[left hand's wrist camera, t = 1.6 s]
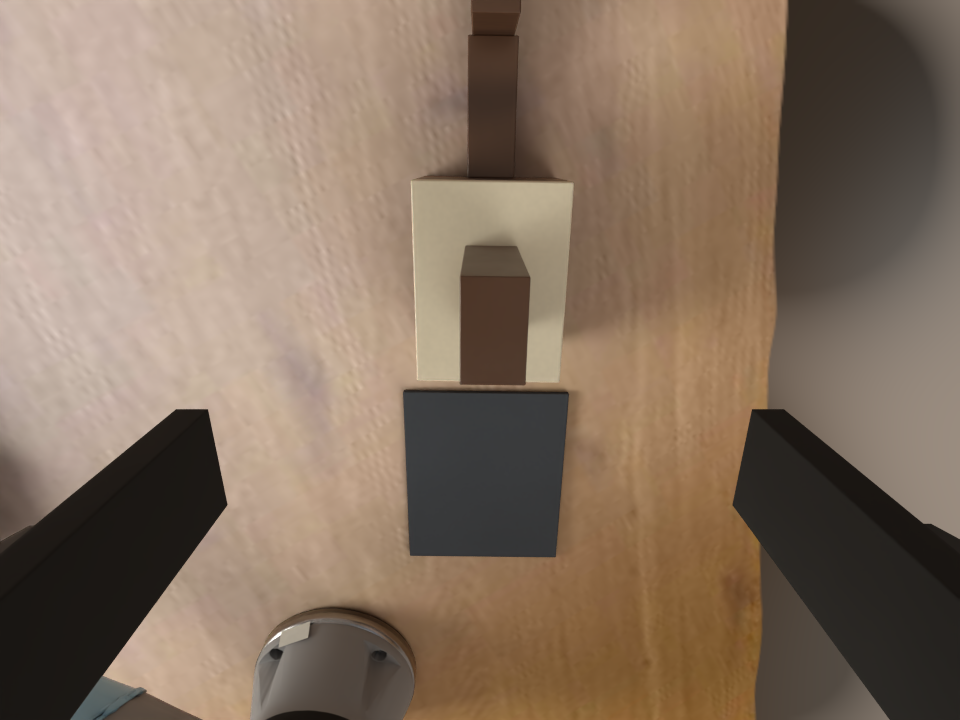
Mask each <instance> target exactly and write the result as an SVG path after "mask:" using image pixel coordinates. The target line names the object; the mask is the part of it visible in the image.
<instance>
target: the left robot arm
mask: <svg viewBox="0 0 960 720" xmlns="http://www.w3.org/2000/svg"><path fill="white" fill-rule="evenodd" d="M226 506H227V500H226V495H225V491H224V486H223V481H222V476H221V471H220V466H219V461H218V456H217V452H216V447H215V442H214V437H213V432H212V427H211V422H210V417H209V412H208V409H176V410H175V411H174V412H172V413H171V414H170V415H169V416H167V417H166V418H165V419H164V420H163V421H161V422H160V423H159V424H158V425H156V426H155V427H154V428H153V429H152V430H150V431H149V432H148V433H147V434H145V435H144V436H143V437H142V438H141V439H139V440H138V441H137V442H136V443H135V444H133V445H132V446H131V447H130V448H128V449H127V450H126V451H125V452H124V453H122V454H121V455H120V456H119V457H117V458H116V459H115V460H114V461H113V462H111V463H110V464H109V465H108V466H106V467H105V468H104V469H103V470H102V471H100V472H99V473H98V474H97V475H96V476H94V477H93V478H92V479H91V480H89V481H88V482H87V483H86V484H85V485H83V486H82V487H81V488H80V489H78V490H77V491H76V492H75V493H74V494H72V495H71V496H70V497H69V498H67V499H66V500H65V501H64V502H63V503H61V504H60V505H59V506H58V507H56V508H55V509H54V510H53V511H52V512H50V513H49V514H48V515H47V516H46V517H44V518H43V519H42V520H41V521H39V522H38V523H37V524H36V525H35V526H28V527H26V528H25V529H23V530H21V531H19V532H17V533H15V534H13V535H12V536H10V537H8V538H6V539H4V540H2V541H1V542H0V720H202V719H200V718H198V717H195V716H193V715H191V714H189V713H187V712H184V711H182V710H180V709H178V708H176V707H174V706H172V705H170V704H168V703H166V702H164V701H162V700H160V699H158V698H156V697H154V696H152V695H150V694H147V693H146V692H147V691H146V690H145V689H144V688H141V687H139V688H133V687H130V686H128V685H125V684H122V683H119V682H117V681H114V680H111V679H109V678H107V677H104V676H103V674H104V673H105V671H106V670H107V669H108V667H109V666H110V665H111V663H112V662H113V661H114V659H115V658H116V656H117V655H118V654H119V652H120V651H121V650H122V648H123V647H124V646H125V644H126V643H127V641H128V640H129V639H130V637H131V636H132V635H133V633H134V632H135V631H136V629H137V628H138V626H139V625H140V624H141V622H142V621H143V620H144V618H145V617H146V616H147V614H148V613H149V611H150V610H151V609H152V607H153V606H154V605H155V603H156V602H157V601H158V599H159V598H160V596H161V595H162V594H163V592H164V591H165V590H166V588H167V587H168V585H169V584H170V583H171V581H172V580H173V579H174V577H175V576H176V575H177V573H178V572H179V570H180V569H181V568H182V566H183V565H184V564H185V562H186V561H187V560H188V558H189V557H190V555H191V554H192V553H193V551H194V550H195V549H196V547H197V546H198V545H199V543H200V542H201V540H202V539H203V538H204V536H205V535H206V534H207V532H208V531H209V530H210V528H211V527H212V525H213V524H214V523H215V521H216V520H217V519H218V517H219V516H220V514H221V513H222V512H223V510H224V509H225V508H226ZM733 506H734V508H735V509H736V510H737V512H738V513H739V514H740V516H741V517H742V519H743V520H744V521H745V523H746V524H747V525H748V527H749V528H750V530H751V531H752V532H753V534H754V535H755V536H756V538H757V539H758V540H759V542H760V543H761V545H762V546H763V547H764V549H765V550H766V551H767V553H768V554H769V555H770V557H771V558H772V560H773V561H774V562H775V564H776V565H777V566H778V568H779V569H780V570H781V572H782V573H783V575H784V576H785V577H786V579H787V580H788V581H789V583H790V584H791V585H792V587H793V588H794V590H795V591H796V592H797V594H798V595H799V596H800V598H801V599H802V600H803V602H804V603H805V605H806V606H807V607H808V609H809V610H810V611H811V613H812V614H813V616H814V617H815V618H816V620H817V621H818V622H819V624H820V625H821V626H822V628H823V629H824V630H825V632H826V633H827V635H828V636H829V637H830V639H831V640H832V641H833V643H834V644H835V646H836V647H837V648H838V650H839V651H840V652H841V654H842V655H843V656H844V658H845V659H846V661H847V662H848V663H849V665H850V666H851V667H852V669H853V670H854V671H855V673H856V674H857V676H858V677H859V678H860V680H861V681H862V682H863V684H864V685H865V687H866V688H867V689H868V691H869V692H870V693H871V695H872V696H873V697H874V699H875V700H876V702H877V703H878V704H879V706H880V707H881V708H882V710H883V711H884V712H885V714H886V715H887V717H888V718H889V719H890V720H960V539H958V538H956V537H954V536H953V535H951V534H949V533H947V532H945V531H943V530H941V529H940V528H938V527H936V526H934V525H932V524H923V523H922V522H921V521H919V520H918V519H917V518H916V517H914V516H913V515H912V514H911V513H910V512H908V511H907V510H906V509H905V508H903V507H902V506H901V505H900V504H899V503H897V502H896V501H895V500H894V499H893V498H891V497H890V496H889V495H888V494H886V493H885V492H884V491H883V490H882V489H880V488H879V487H878V486H877V485H875V484H874V483H873V482H872V481H871V480H869V479H868V478H867V477H866V476H864V475H863V474H862V473H861V472H860V471H858V470H857V469H856V468H855V467H854V466H852V465H851V464H850V463H849V462H847V461H846V460H845V459H844V458H843V457H841V456H840V455H839V454H838V453H836V452H835V451H834V450H833V449H832V448H830V447H829V446H828V445H827V444H825V443H824V442H823V441H822V440H821V439H819V438H818V437H817V436H816V435H814V434H813V433H812V432H811V431H810V430H808V429H807V428H806V427H805V426H804V425H802V424H801V423H800V422H799V421H797V420H796V419H795V418H794V417H793V416H791V415H790V414H789V413H788V412H786V411H785V410H784V409H752V412H751V417H750V422H749V427H748V432H747V437H746V442H745V447H744V452H743V456H742V461H741V466H740V471H739V476H738V481H737V486H736V491H735V495H734V500H733ZM415 679H416V662H415V658H414V655H413V652H412V650H411V648H410V647H409V645H408V644H407V642H406V641H405V640H404V638H403V637H402V636H401V635H400V634H399V633H398V632H397V631H396V630H394V629H393V628H392V627H390V626H389V625H387V624H386V623H384V622H383V621H381V620H379V619H377V618H375V617H372V616H370V615H367V614H364V613H361V612H357V611H352V610H346V609H334V608H329V609H316V610H311V611H307V612H303V613H300V614H297V615H295V616H293V617H291V618H289V619H287V620H285V621H284V622H282V623H281V624H280V625H278V626H277V627H276V628H275V629H274V630H273V631H272V632H271V633H270V635H269V636H268V638H267V639H266V641H265V644H264V646H263V648H262V650H261V652H260V655H259V657H258V659H257V662H256V666H255V673H254V682H253V694H252V705H251V717H250V720H403V718H404V716H405V713H406V711H407V709H408V707H409V705H410V702H411V700H412V697H413V693H414V687H415Z"/></svg>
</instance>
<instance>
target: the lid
mask: <svg viewBox="0 0 960 720" xmlns="http://www.w3.org/2000/svg"><path fill="white" fill-rule="evenodd" d="M573 192H574V183H573V182H570V181H513V180H443V179H414V180H411V202H412V234H413V266H414V297H415V329H416V360H417V380H418V381H460V384H467V385H525V384H526V382H559V381H560V369H561V356H562V342H563V328H564V315H565V301H566V288H567V274H568V260H569V247H570V233H571V219H572V206H573Z"/></svg>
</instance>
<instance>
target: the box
mask: <svg viewBox="0 0 960 720" xmlns="http://www.w3.org/2000/svg"><path fill="white" fill-rule="evenodd" d="M520 12H521V0H471V17H472V34H473V35H468V177H455V176H424V177H421V178H417V179H443V180H513V181H566V180H561V179H557V178H524V177H514V159H515V130H516V101H517V72H518V43H519V36H514V34H515V31H516V27H517V23H518V20H519V16H520Z"/></svg>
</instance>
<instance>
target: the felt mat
mask: <svg viewBox="0 0 960 720" xmlns="http://www.w3.org/2000/svg"><path fill="white" fill-rule="evenodd" d="M568 398H569V394H568V392H499V391H418V390H404V392H403V399H404V423H405V447H406V470H407V494H408V517H409V541H410V556H491V557H556V546H557V534H558V521H559V509H560V497H561V484H562V472H563V460H564V447H565V435H566V423H567V410H568Z"/></svg>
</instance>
